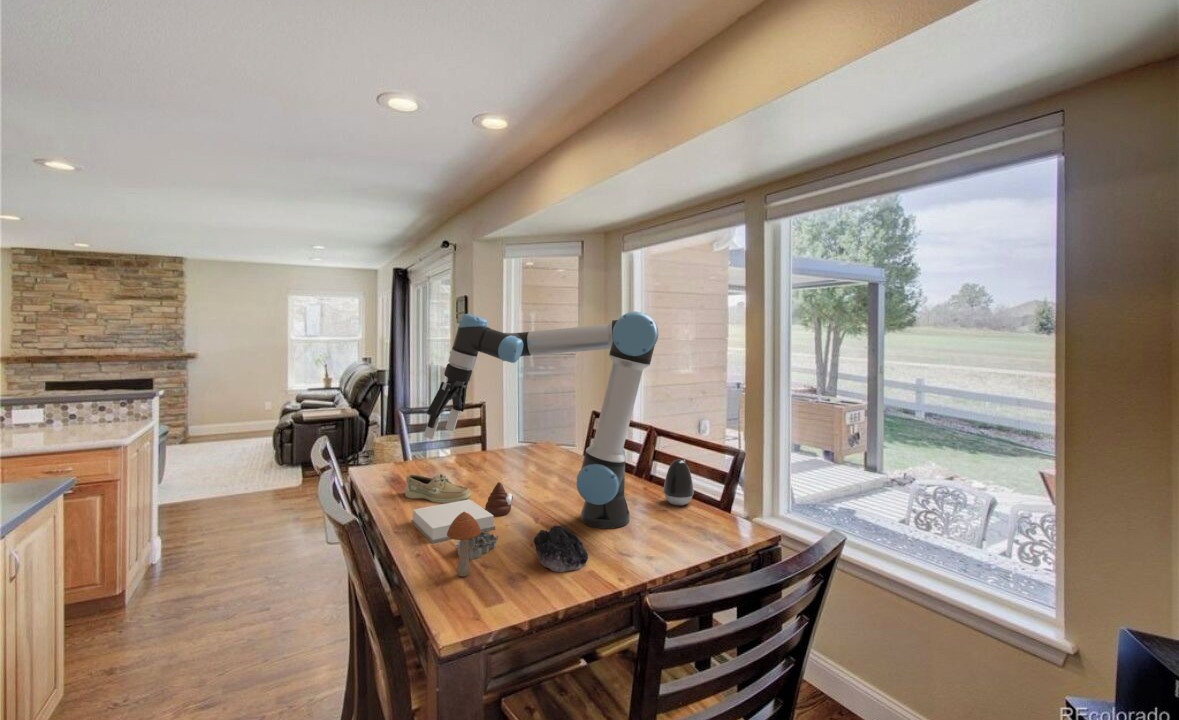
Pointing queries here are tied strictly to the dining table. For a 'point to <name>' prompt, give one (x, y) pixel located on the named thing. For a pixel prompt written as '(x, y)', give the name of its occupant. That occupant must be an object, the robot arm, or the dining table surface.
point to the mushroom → (463, 538)
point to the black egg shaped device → (678, 483)
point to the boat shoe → (434, 489)
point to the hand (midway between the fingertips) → (439, 433)
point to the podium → (449, 518)
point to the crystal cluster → (560, 549)
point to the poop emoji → (499, 501)
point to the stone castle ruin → (479, 544)
